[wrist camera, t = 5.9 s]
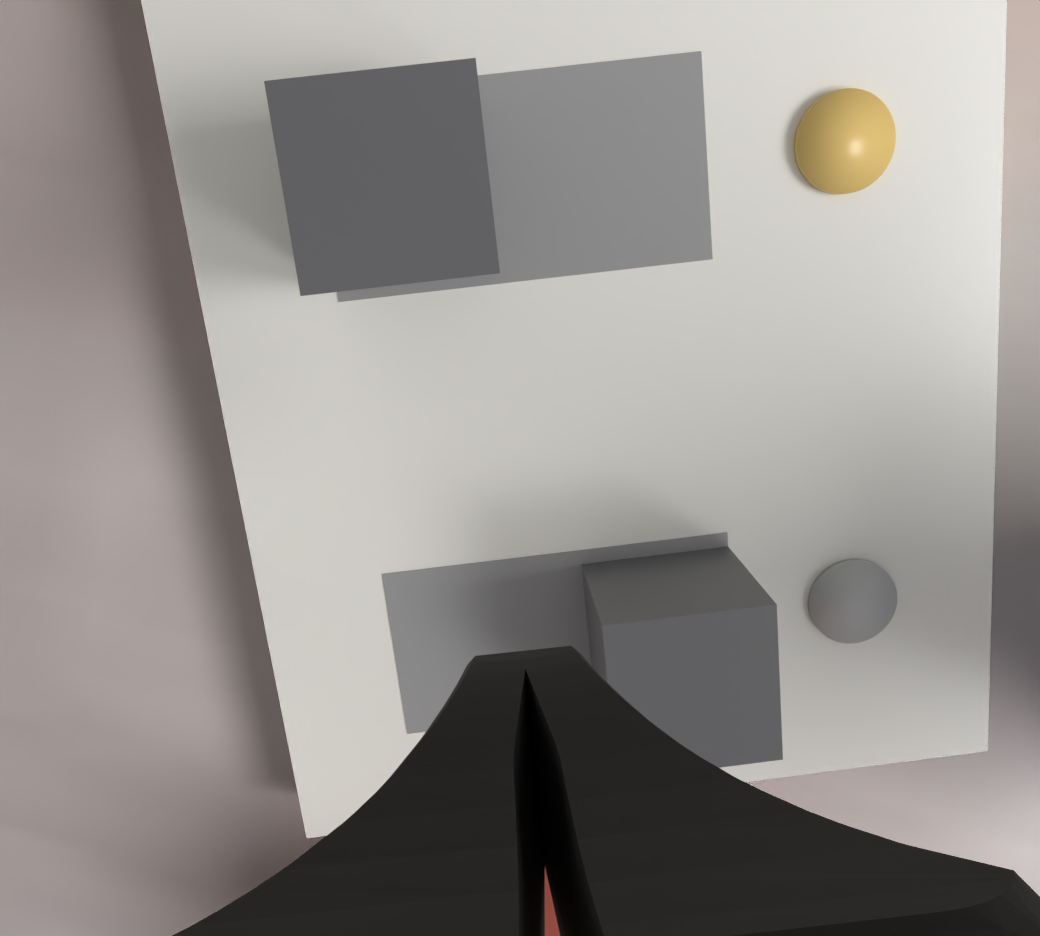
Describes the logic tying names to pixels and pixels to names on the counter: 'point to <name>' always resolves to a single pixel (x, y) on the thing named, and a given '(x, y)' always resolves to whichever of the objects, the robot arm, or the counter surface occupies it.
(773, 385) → the breaker panel
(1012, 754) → the counter surface
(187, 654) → the counter surface
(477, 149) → the block
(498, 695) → the robot arm
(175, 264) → the counter surface
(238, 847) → the counter surface
